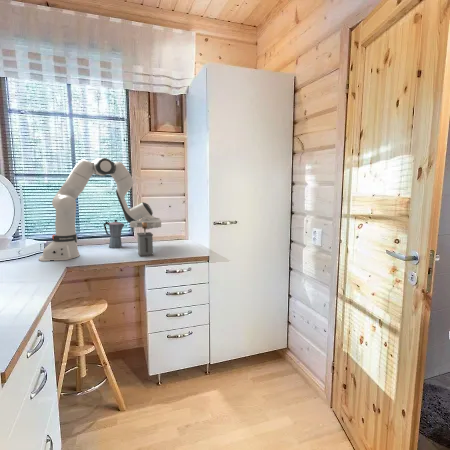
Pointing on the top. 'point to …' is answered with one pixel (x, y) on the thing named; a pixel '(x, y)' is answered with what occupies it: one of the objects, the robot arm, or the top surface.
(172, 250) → the top surface
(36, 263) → the top surface
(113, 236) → the moka pot
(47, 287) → the top surface
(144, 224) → the plunger
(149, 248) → the press
